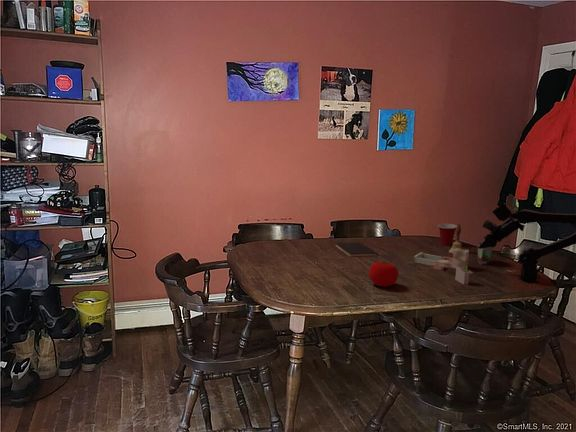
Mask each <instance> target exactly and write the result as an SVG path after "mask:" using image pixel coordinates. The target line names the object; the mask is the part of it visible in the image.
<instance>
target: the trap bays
mask: <svg viewBox="0 0 576 432" xmlns="http://www.w3.org/2000/svg"><path fill="white" fill-rule="evenodd" d="M442 259H443V260H448V261H453V257H450V256H442ZM431 269H434V270H440V271H444V270H445V269H446V267H445V265H443V266H439V265H437V263H435V264H433V265H431Z"/></svg>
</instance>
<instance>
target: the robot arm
mask: <svg viewBox="0 0 576 432" xmlns="http://www.w3.org/2000/svg"><path fill="white" fill-rule="evenodd" d="M491 213H492V214H493V215H494V216H495V217H496V219H497V220H499V222H500V221H501V222H503V223H502V224H499V225H497V224H496V223H494V222H493V221H491V220H489V219H486V220H485V221H484V223H483V224H482V228H484V229H487V230H488V231H490V233H487V234H486V235H484V236H483V239H484V241H482V242H483V243H482V244H481V245H480V246H479V247H477V249H478V248H479V249H482V248H487V247H492V248H493V249H494V248H495V247H496V246H497V245H498V243H500V242H502V241H503V240H504V239H505V238H508V237H510V235H511V234H514V233H515V232H516V231H517V230H520V231H521V232H523V231H524V230H525V226H526V224H533V223H540V222H543V223H563V224H570V225H571V226H572V227H574V228H575V229H576V213H558V212H557V213H556V212H555V213H553V212H541V211H540V212H539V211H536V210H532V209H522V210H520V211H513V210H511V209H510V208H509V206H508V205H507V203H505V202H504V203H503V204H501V205H500V206H497V207H496V208H495V209H493V210H492V211H491ZM573 245H576V231H575V232H574V233H573V234H571V235H569V236H566V237H563V238H560V239H558V240H556V241H553V242H550V243H548V244H545V245H541V246H540V247H534V245H532V246H529V247H528V248H527V247H526V248H524V249H523V250H522V252H521V253H520V255H519V256H518V261H519V262H520V263H521V264H522V266H521V269H520V276H519V277H517V279H519V280H521V281H523V282H526V283H529V284H531V283H540V280H539V279H538V275H539V268H538V265H539V263H540V261H538V260H539V259H540V258H542V257H544V256H546V255H547V256H548V255H549V254H552V253H555V252H558V251H560V250H563V249H566V248H569V247H570V246H573Z"/></svg>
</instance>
